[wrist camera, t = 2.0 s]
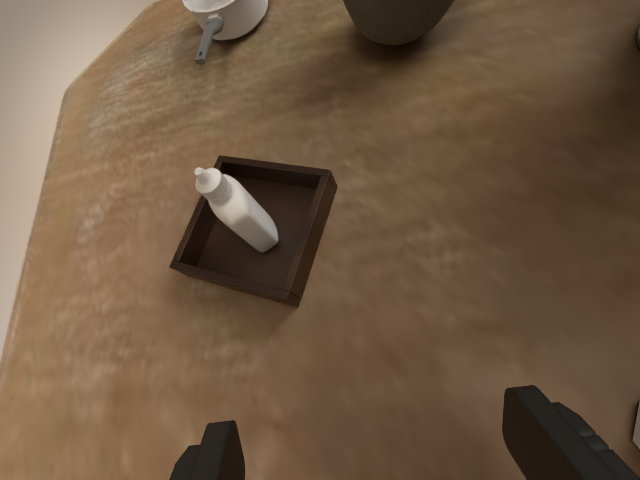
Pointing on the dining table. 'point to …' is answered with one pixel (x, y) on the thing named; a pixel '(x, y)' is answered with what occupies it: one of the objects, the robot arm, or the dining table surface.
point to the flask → (637, 430)
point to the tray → (290, 220)
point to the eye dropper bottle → (237, 208)
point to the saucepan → (224, 20)
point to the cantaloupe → (396, 18)
